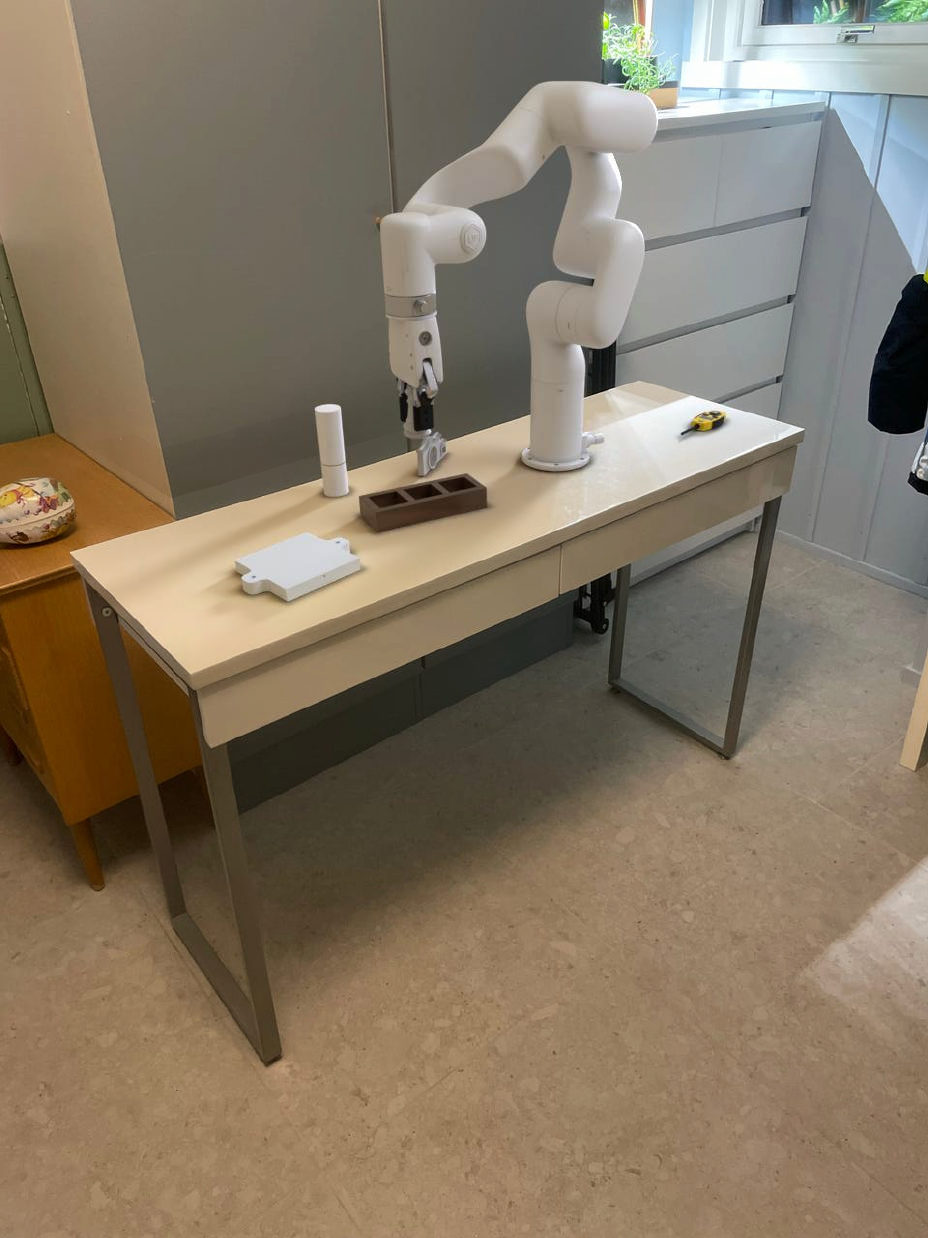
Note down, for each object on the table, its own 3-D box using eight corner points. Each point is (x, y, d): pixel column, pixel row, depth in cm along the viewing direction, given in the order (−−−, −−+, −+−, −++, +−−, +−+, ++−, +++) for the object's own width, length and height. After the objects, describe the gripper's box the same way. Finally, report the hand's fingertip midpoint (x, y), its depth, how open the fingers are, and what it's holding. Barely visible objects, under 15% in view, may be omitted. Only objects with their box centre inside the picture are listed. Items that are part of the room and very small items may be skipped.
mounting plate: (272, 608, 127) (270, 596, 126) (221, 577, 135) (219, 565, 134) (373, 563, 138) (372, 552, 137) (321, 537, 146) (319, 526, 145)
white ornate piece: (439, 453, 176) (438, 423, 173) (448, 454, 176) (447, 424, 173) (416, 476, 167) (414, 445, 164) (425, 477, 166) (424, 446, 163)
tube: (344, 497, 159) (335, 412, 152) (320, 496, 160) (311, 411, 152) (351, 487, 163) (344, 404, 155) (328, 486, 164) (319, 403, 156)
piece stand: (360, 515, 153) (358, 495, 151) (467, 491, 160) (466, 472, 158) (377, 532, 147) (375, 512, 145) (487, 507, 155) (487, 487, 153)
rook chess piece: (418, 427, 149) (415, 378, 145) (437, 434, 146) (435, 384, 142) (397, 435, 146) (394, 385, 142) (416, 441, 143) (413, 391, 139)
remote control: (731, 411, 187) (692, 431, 178) (730, 421, 188) (691, 440, 179) (710, 407, 190) (670, 425, 181) (709, 416, 191) (669, 435, 182)
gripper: (459, 312, 131) (462, 436, 140) (410, 291, 144) (416, 406, 153) (410, 319, 128) (417, 445, 137) (365, 297, 141) (374, 413, 150)
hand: (417, 423), depth 145 cm, fingers closed on rook chess piece, 4 cm apart
